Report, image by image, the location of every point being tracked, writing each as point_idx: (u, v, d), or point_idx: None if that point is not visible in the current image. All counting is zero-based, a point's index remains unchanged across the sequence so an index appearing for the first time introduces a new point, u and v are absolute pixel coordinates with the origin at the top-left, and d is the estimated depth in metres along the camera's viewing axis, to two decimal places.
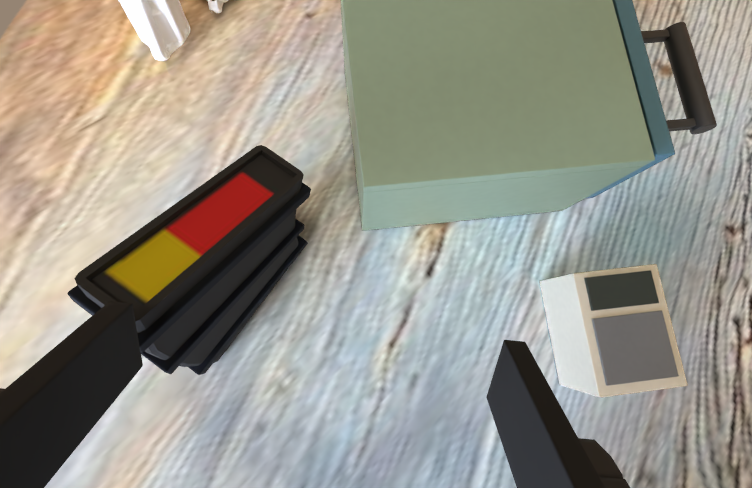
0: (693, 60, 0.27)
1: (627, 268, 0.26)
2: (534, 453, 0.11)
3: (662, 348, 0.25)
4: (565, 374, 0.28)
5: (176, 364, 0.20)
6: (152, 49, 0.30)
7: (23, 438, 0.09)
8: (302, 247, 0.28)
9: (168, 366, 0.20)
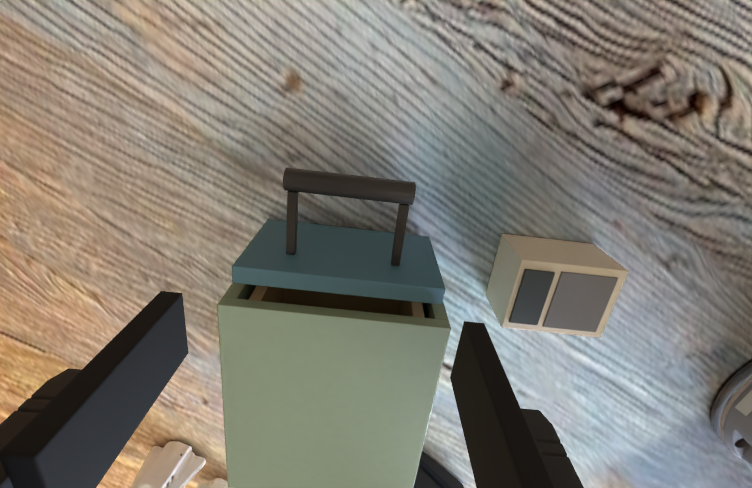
0: (334, 187, 0.23)
1: (515, 285, 0.28)
2: (482, 422, 0.11)
3: (591, 283, 0.28)
4: None
5: None
6: None
7: (101, 412, 0.10)
8: None
9: None
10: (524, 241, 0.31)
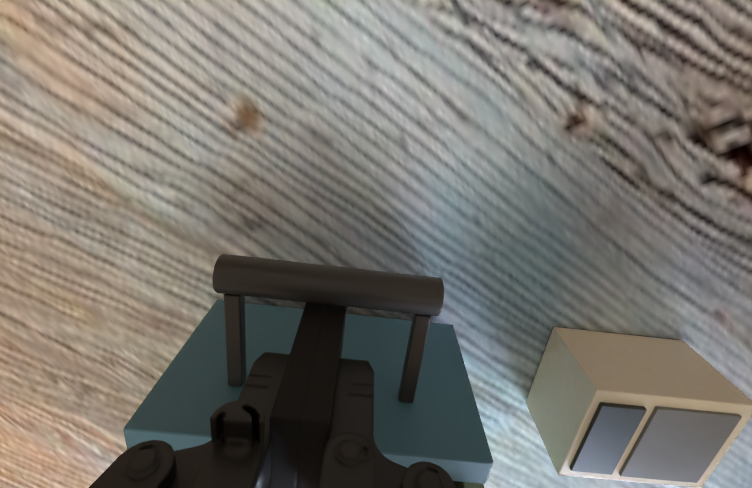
0: (303, 291, 0.13)
1: (583, 423, 0.19)
2: None
3: (699, 423, 0.19)
4: None
5: None
6: None
7: None
8: None
9: None
10: (588, 342, 0.22)
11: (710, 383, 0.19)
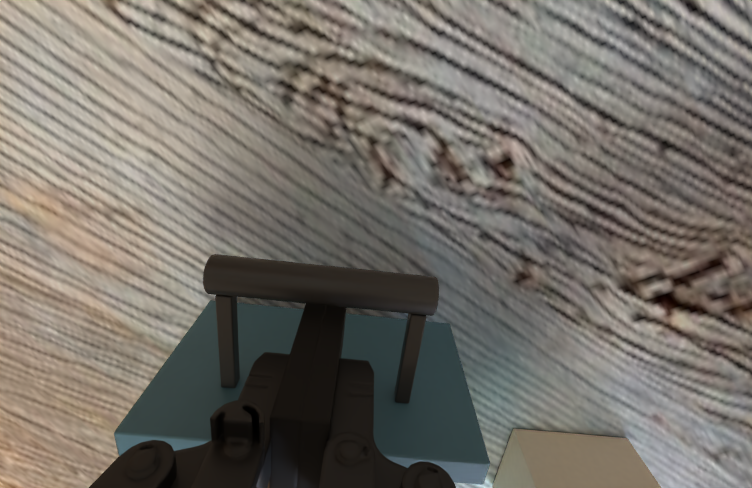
0: (295, 292, 0.13)
1: None
2: None
3: None
4: None
5: None
6: None
7: None
8: None
9: None
10: (542, 446, 0.25)
11: None
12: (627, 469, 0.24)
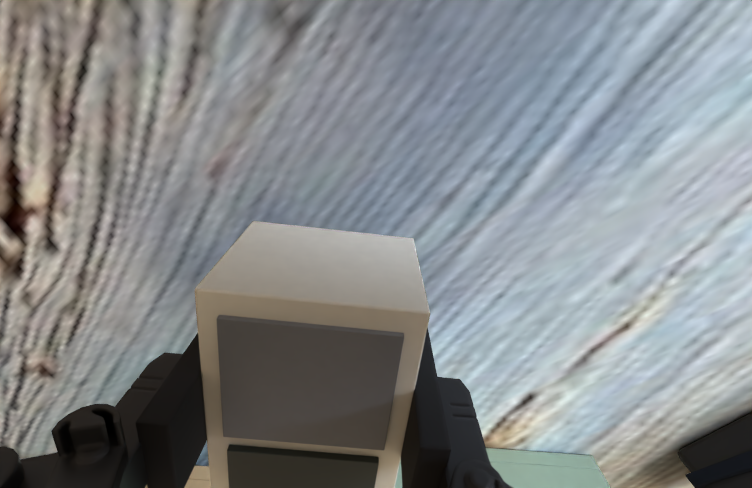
0: None
1: None
2: None
3: (244, 376, 0.10)
4: None
5: None
6: None
7: None
8: (702, 479, 0.21)
9: None
10: None
11: None
12: None
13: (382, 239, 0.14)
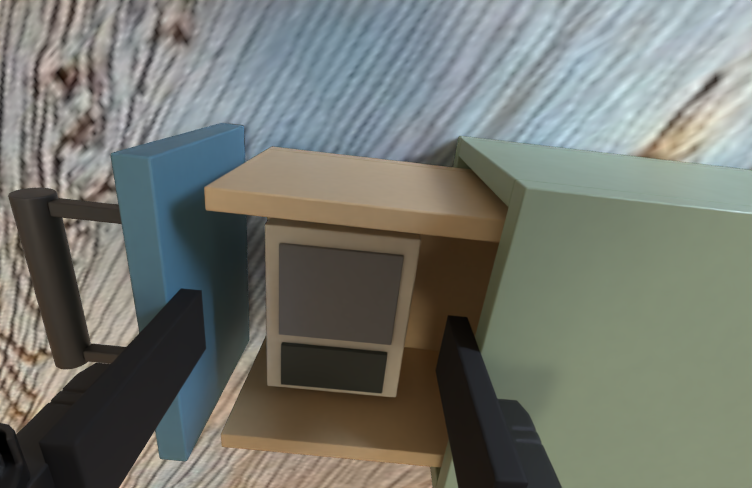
0: (46, 310, 0.16)
1: (313, 389, 0.18)
2: (461, 412, 0.12)
3: (295, 287, 0.15)
4: None
5: None
6: None
7: (131, 404, 0.10)
8: None
9: None
10: None
11: None
12: None
13: None
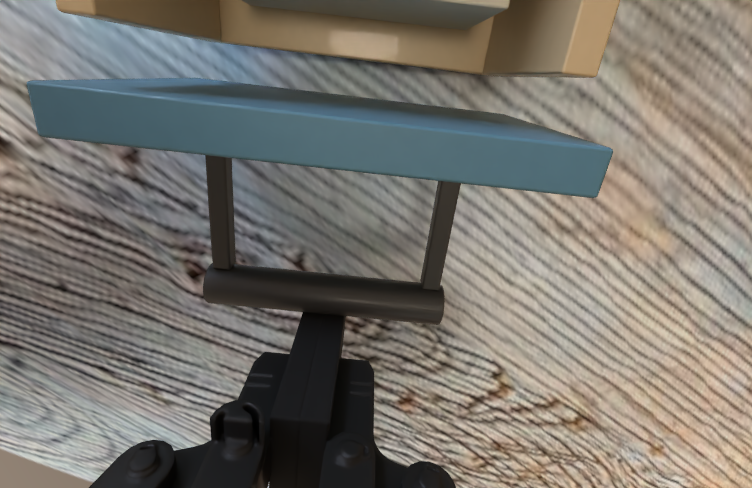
0: (350, 307, 0.13)
1: None
2: None
3: None
4: None
5: None
6: None
7: None
8: None
9: None
10: (430, 21, 0.13)
11: None
12: None
13: None
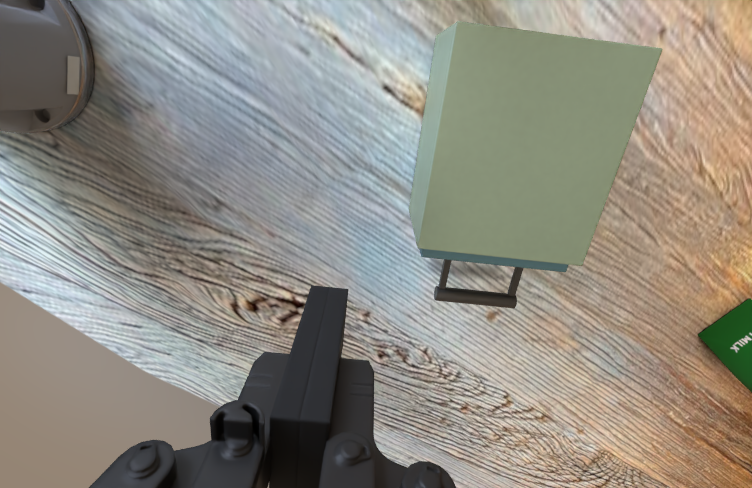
0: (485, 302, 0.38)
1: None
2: None
3: None
4: None
5: None
6: None
7: None
8: None
9: None
10: None
11: None
12: None
13: None
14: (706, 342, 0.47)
